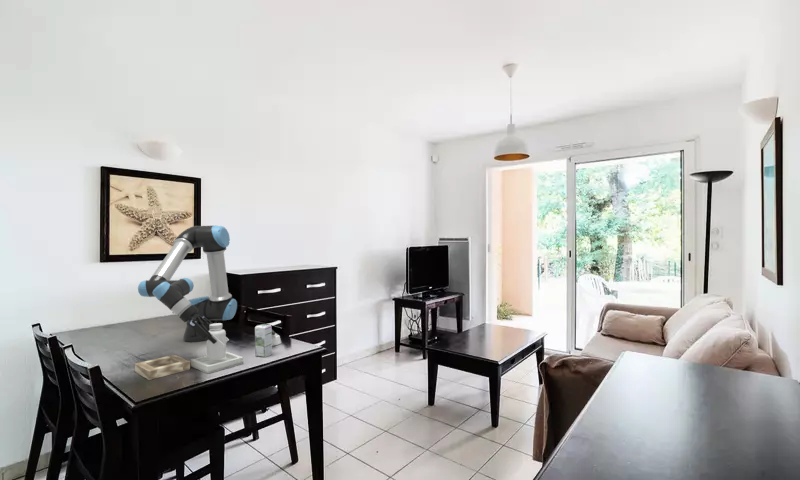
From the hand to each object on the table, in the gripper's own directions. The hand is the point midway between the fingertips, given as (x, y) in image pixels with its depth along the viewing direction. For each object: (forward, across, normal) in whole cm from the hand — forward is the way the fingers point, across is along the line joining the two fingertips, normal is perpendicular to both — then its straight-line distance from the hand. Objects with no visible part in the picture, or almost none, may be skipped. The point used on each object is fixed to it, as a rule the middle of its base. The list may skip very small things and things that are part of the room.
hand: (224, 344), depth 178 cm
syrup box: (+17, -11, +4) cm, 21 cm away
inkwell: (+18, -27, +5) cm, 33 cm away
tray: (+4, 0, -9) cm, 10 cm away
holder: (-11, +2, -24) cm, 26 cm away
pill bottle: (+2, 0, -6) cm, 7 cm away
